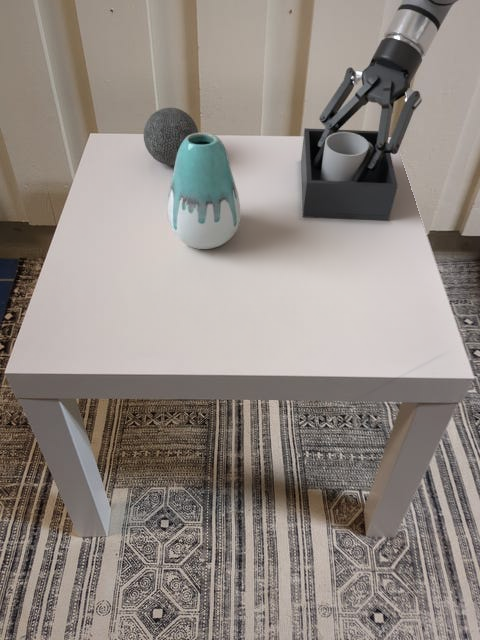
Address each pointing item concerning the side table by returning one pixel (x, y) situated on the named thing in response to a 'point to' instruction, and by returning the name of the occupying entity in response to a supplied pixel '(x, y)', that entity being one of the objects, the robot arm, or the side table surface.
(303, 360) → the side table surface
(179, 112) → the decorative ball
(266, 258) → the side table surface
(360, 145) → the cup
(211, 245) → the vase
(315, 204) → the open box
